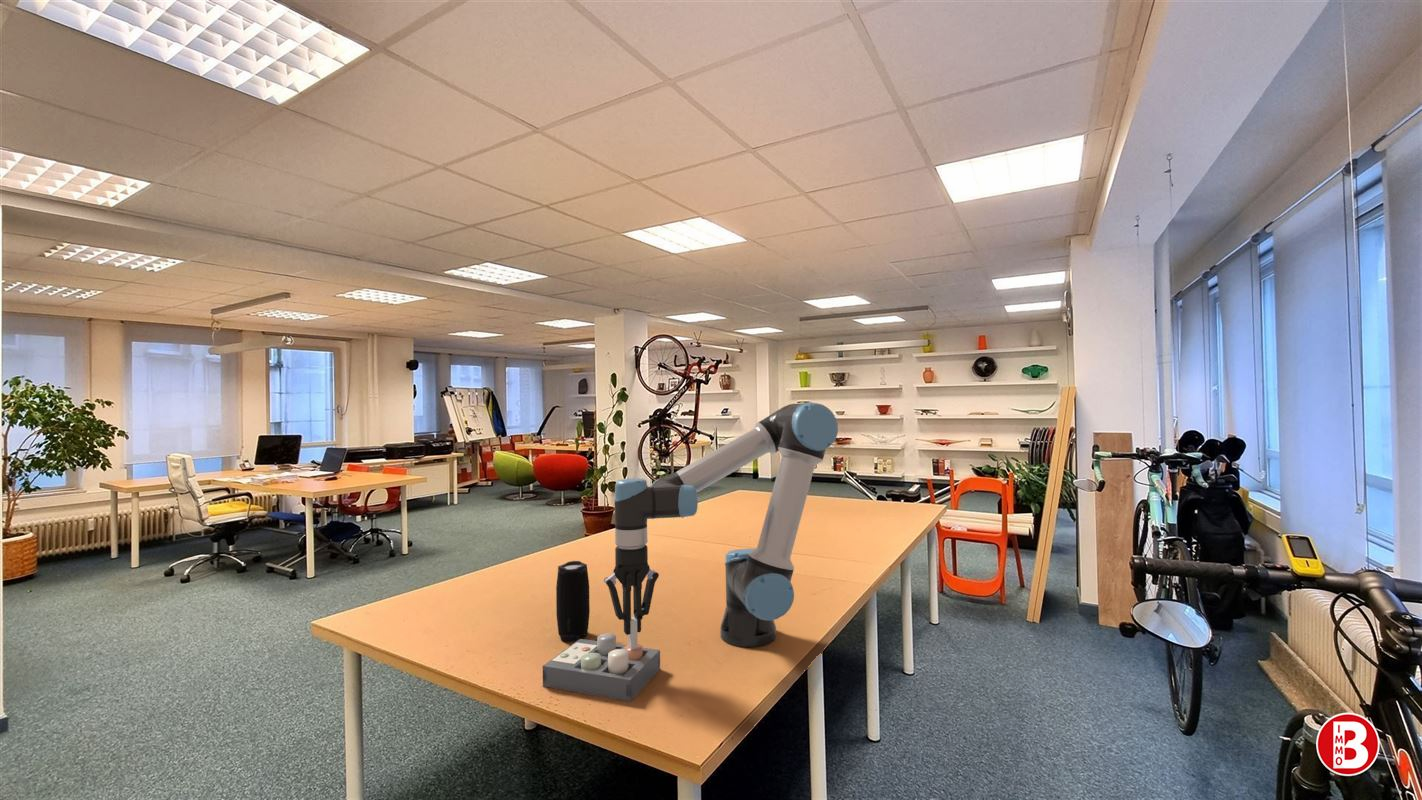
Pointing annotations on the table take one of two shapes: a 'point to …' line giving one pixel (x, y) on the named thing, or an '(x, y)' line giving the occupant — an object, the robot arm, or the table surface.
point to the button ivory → (618, 662)
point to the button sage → (591, 661)
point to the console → (599, 672)
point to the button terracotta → (634, 653)
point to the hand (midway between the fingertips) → (632, 646)
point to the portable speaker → (572, 600)
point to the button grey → (606, 643)
